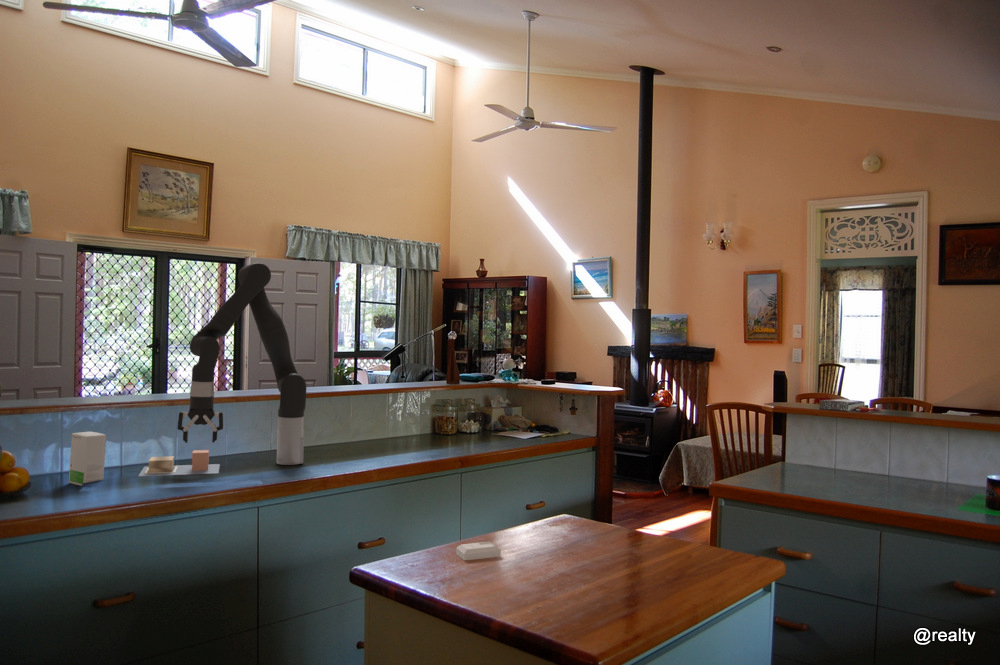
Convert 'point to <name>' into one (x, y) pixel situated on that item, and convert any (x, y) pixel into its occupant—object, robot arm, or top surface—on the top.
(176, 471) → the board
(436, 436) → the top surface
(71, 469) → the skincare box
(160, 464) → the beech base block
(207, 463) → the terracotta block
